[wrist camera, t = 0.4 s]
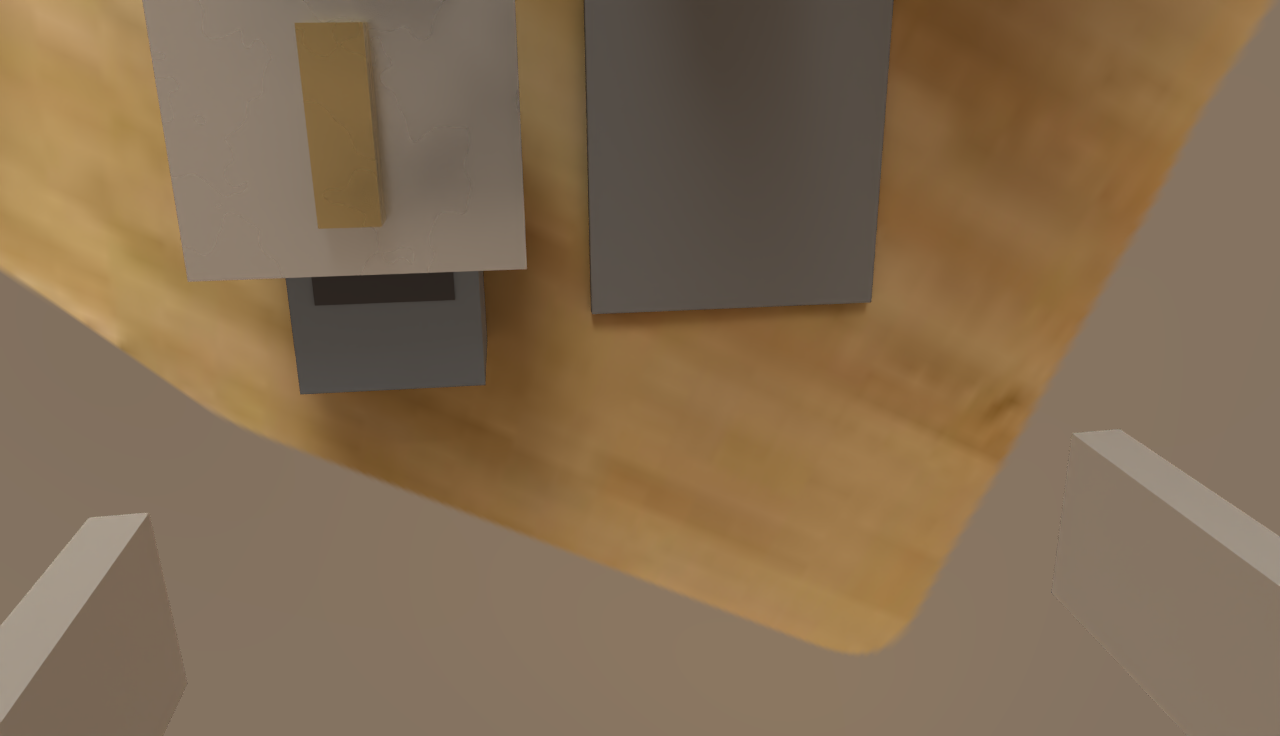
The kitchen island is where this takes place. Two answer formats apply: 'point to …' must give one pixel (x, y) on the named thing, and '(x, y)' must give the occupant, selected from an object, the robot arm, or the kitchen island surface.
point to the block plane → (388, 331)
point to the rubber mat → (733, 151)
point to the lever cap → (341, 135)
